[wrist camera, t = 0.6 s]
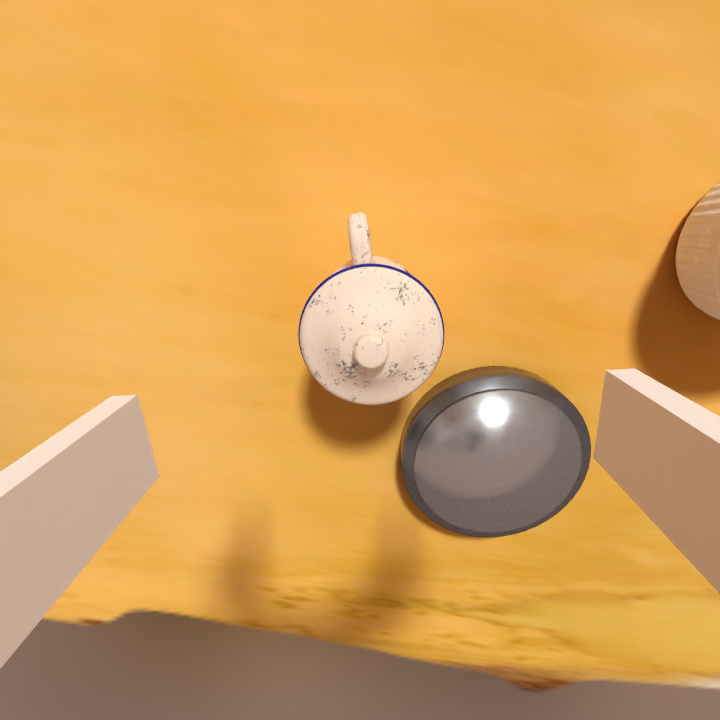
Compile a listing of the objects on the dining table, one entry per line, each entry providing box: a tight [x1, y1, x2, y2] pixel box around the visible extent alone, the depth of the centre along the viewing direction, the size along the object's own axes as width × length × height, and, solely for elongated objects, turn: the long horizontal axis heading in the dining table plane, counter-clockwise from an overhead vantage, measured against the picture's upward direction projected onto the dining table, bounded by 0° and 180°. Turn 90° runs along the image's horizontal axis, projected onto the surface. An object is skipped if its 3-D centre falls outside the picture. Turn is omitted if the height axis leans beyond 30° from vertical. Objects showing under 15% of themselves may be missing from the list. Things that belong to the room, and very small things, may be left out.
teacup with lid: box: [299, 213, 444, 405], centre depth 27 cm, size 12×9×12 cm
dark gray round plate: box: [400, 366, 591, 537], centre depth 36 cm, size 16×16×3 cm
